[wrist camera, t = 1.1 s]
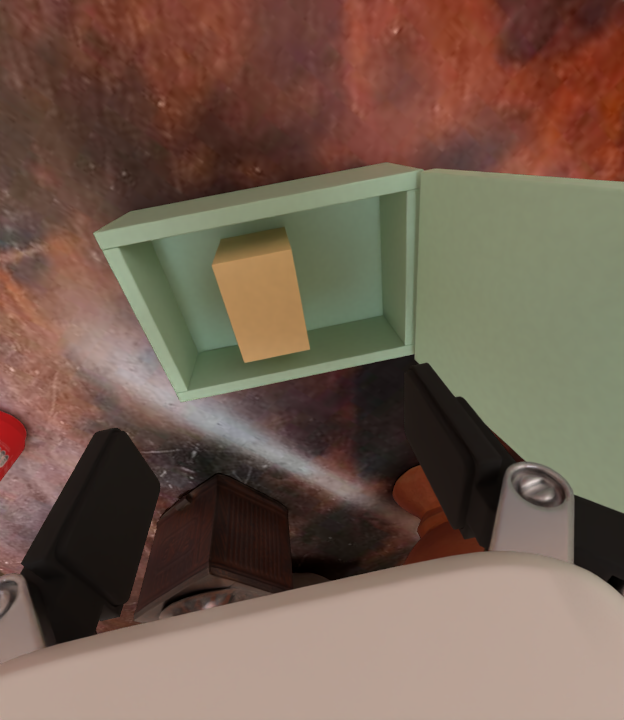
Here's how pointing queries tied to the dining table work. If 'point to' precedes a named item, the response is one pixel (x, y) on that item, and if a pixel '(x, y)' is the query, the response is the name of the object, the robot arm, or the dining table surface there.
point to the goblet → (429, 520)
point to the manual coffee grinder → (216, 551)
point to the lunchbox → (312, 264)
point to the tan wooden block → (261, 294)
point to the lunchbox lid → (530, 314)
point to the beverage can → (10, 441)
